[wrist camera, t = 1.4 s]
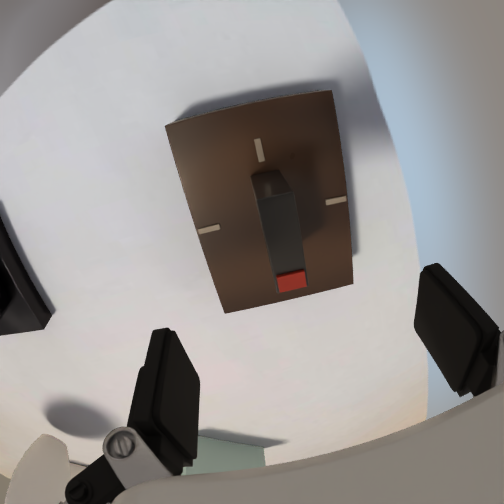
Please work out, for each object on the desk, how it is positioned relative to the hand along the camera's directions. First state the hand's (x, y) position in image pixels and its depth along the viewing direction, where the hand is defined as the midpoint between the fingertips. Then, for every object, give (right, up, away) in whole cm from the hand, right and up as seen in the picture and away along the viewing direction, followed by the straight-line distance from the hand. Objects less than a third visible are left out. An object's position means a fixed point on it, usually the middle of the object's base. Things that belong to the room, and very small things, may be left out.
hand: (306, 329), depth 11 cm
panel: (-1, +7, +11) cm, 13 cm away
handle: (-1, +5, +9) cm, 10 cm away
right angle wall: (-8, -29, +30) cm, 43 cm away
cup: (-34, -26, +27) cm, 50 cm away
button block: (-28, 0, +13) cm, 31 cm away
